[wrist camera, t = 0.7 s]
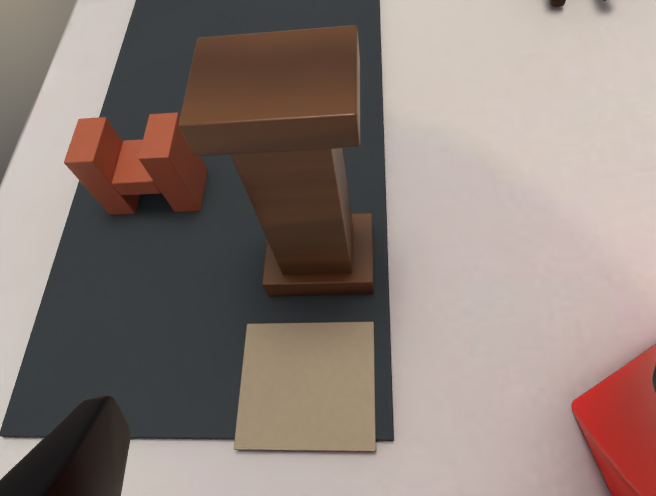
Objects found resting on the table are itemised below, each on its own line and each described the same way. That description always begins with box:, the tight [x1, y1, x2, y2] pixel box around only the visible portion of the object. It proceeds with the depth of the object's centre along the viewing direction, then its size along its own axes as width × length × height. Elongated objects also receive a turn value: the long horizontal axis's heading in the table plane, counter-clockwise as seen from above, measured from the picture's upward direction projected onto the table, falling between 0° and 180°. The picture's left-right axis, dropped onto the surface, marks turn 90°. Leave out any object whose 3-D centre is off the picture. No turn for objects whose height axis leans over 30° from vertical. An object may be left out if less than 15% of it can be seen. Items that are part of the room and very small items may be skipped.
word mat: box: [0, 0, 394, 451], centre depth 34 cm, size 40×19×1 cm, turn 178°
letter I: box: [178, 25, 374, 296], centre depth 22 cm, size 4×6×13 cm
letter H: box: [64, 113, 208, 215], centre depth 29 cm, size 3×6×5 cm, turn 88°
